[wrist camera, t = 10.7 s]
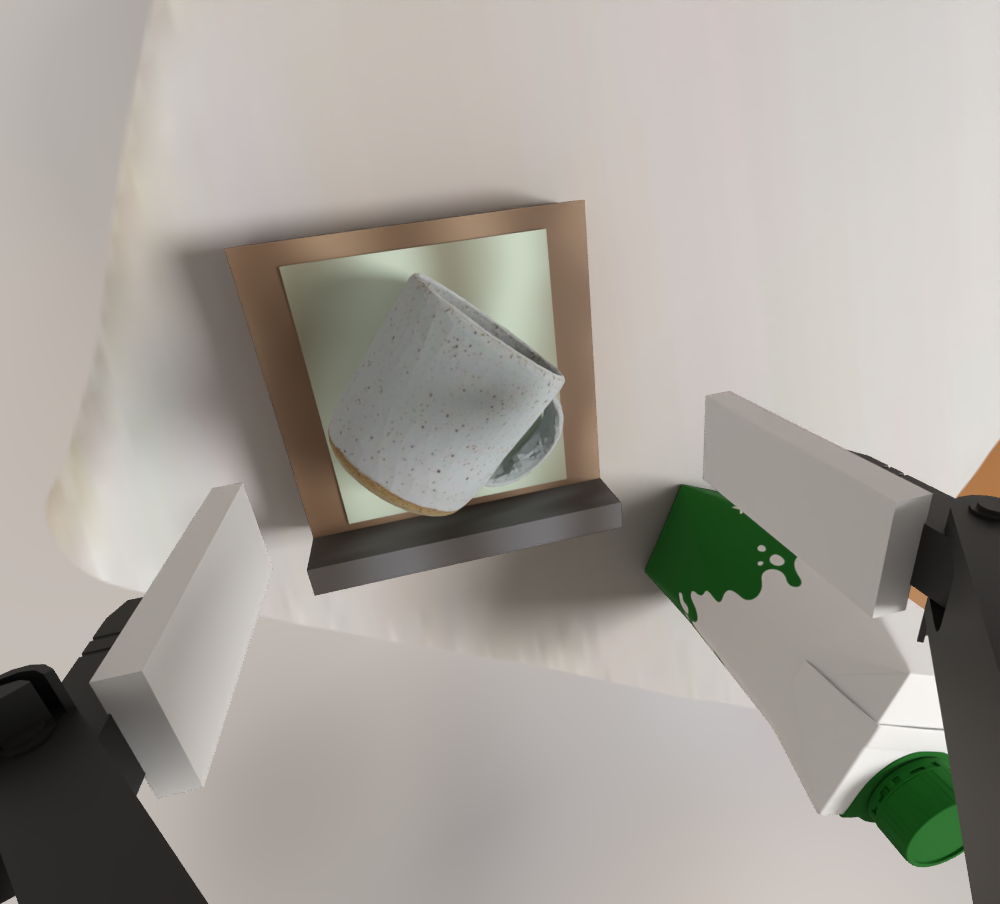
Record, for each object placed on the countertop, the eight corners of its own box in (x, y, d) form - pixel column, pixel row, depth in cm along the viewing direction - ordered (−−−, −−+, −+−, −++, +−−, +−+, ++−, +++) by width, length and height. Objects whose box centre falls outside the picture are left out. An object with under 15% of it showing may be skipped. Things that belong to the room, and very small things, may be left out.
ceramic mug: (321, 412, 26) (305, 481, 19) (408, 261, 25) (424, 279, 18) (500, 502, 30) (539, 586, 24) (586, 378, 29) (655, 430, 22)
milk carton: (628, 580, 40) (838, 878, 22) (675, 467, 37) (963, 702, 19) (728, 593, 42) (991, 870, 24) (779, 489, 39) (1121, 714, 21)
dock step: (558, 202, 29) (609, 196, 23) (578, 472, 35) (621, 526, 29) (245, 245, 27) (203, 251, 20) (326, 524, 33) (314, 595, 27)
